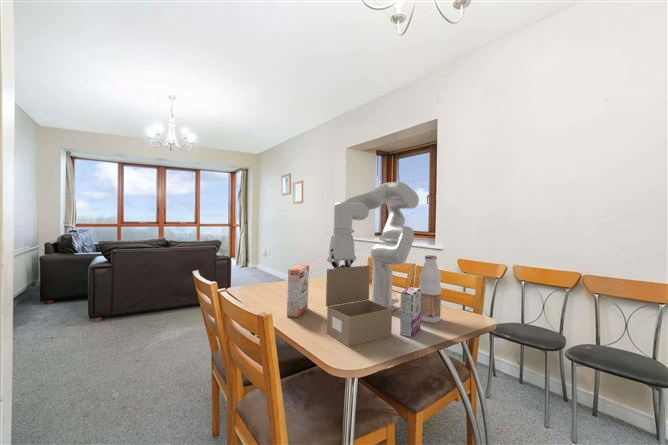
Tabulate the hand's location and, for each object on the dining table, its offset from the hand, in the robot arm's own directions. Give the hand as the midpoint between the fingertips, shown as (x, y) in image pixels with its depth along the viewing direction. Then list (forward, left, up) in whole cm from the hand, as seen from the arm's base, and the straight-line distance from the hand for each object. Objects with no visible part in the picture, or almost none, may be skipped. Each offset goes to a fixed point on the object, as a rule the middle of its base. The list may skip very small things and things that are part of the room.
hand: (341, 276), depth 125 cm
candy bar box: (-19, +20, -20) cm, 34 cm away
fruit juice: (-37, +14, -20) cm, 44 cm away
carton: (0, +12, -20) cm, 23 cm away
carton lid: (0, +6, -2) cm, 6 cm away
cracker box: (+9, -22, -20) cm, 31 cm away
